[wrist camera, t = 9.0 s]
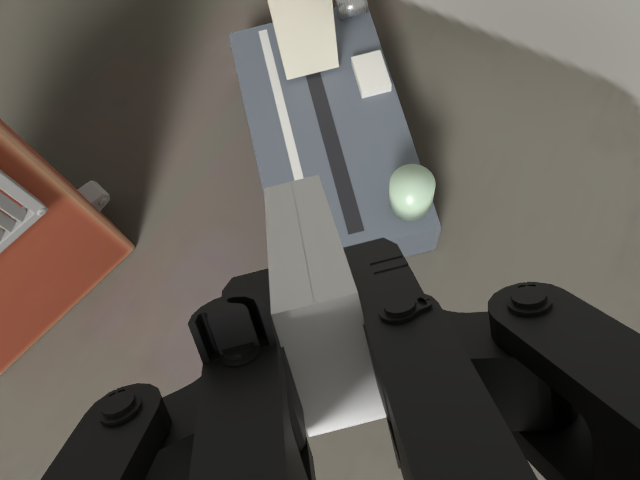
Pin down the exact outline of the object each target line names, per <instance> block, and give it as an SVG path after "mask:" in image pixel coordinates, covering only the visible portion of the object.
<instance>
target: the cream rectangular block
mask: <svg viewBox="0 0 640 480" xmlns="http://www.w3.org/2000/svg"><path fill="white" fill-rule="evenodd" d="M267 1H268V5H269V9H270V13H271V18H272V22H273V26H274V30H275V34H276V38H277V42H278V47H279V51H280V55H281V59H282V63H283V66H284V70H285V74H286V78H287V80H290V79H294V78H298V77H302V76H306V75H310V74H314V73H318V72H321V71H325V70H329V69H333V68H337V67H339V62H338V53H337V43H336V33H335V23H334V13H333V4H332V0H267Z"/></svg>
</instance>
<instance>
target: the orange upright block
mask: <svg viewBox="0 0 640 480" xmlns="http://www.w3.org/2000/svg"><path fill="white" fill-rule="evenodd" d="M109 200H110V197H109V194H108V193H107V192H106V191H105V190H104V189H103V188H102V187H101V186H100V185H99V184H98V183H97V182H95V181H89V182H87V183H86V184H84V185H83V186H82V187H80V188H79V189H76V188H75V187H74V186H73V185H72V184H71V183H70V182H69V181H68V180H66V179H65V178H64V177H63V176H62V175H61V174H60V173H59V172H58V171H57V170H56V169H54V168H53V167H52V166H51V165H50V164H49V163H48V162H47V161H46V160H45V159H43V158H42V157H41V156H40V155H39V154H38V153H37V152H36V151H35V150H34V149H33V148H31V147H30V146H29V145H28V144H27V143H26V142H25V141H24V140H23V139H22V138H21V137H19V136H18V135H17V134H16V133H15V132H14V131H13V130H12V129H11V128H10V127H8V126H7V125H6V124H5V123H4V122H3V121H2V120H1V119H0V375H1V374H3V373H4V372H5V371H6V370H7V369H8V368H9V367H10V366H11V365H12V364H13V363H14V362H15V361H16V360H17V359H18V358H20V357H21V356H22V355H23V354H24V353H25V352H26V351H27V350H28V349H29V348H30V347H31V346H32V345H33V344H34V343H35V342H37V341H38V340H39V339H40V338H41V337H42V336H43V335H44V334H45V333H46V332H47V331H48V330H49V329H50V328H51V327H52V326H53V325H55V324H56V323H57V322H58V321H59V320H60V319H61V318H62V317H63V316H64V315H65V314H66V313H67V312H68V311H69V310H70V309H72V308H73V307H74V306H75V305H76V304H77V303H78V302H79V301H80V300H81V299H82V298H83V297H84V296H85V295H86V294H87V293H89V292H90V291H91V290H92V289H93V288H94V287H95V286H96V285H97V284H98V283H99V282H100V281H101V280H102V279H103V278H104V277H105V276H107V275H108V274H109V273H110V272H111V271H112V270H113V269H114V268H115V267H116V266H117V265H118V264H119V263H120V262H121V261H122V260H124V259H125V258H126V257H127V256H128V255H129V254H130V253H131V252H132V251H133V250H134V248H135V247H134V244H133V243H132V242H131V241H130V240H129V239H128V238H127V237H126V236H125V235H124V234H123V233H122V232H121V231H120V230H119V229H118V228H117V227H116V226H115V225H114V224H113V223H112V222H111V221H110V220H109V219H108V218H107V217H106V216H105V215H104V214H103V213H102V212H101V210H102V209H103V208H104V206H105V205H106V204H107V203H108V202H109Z"/></svg>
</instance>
